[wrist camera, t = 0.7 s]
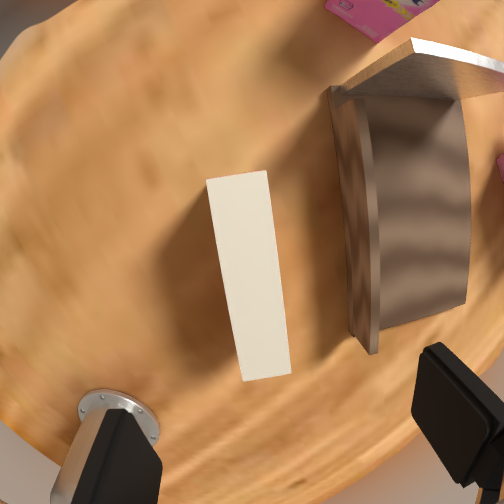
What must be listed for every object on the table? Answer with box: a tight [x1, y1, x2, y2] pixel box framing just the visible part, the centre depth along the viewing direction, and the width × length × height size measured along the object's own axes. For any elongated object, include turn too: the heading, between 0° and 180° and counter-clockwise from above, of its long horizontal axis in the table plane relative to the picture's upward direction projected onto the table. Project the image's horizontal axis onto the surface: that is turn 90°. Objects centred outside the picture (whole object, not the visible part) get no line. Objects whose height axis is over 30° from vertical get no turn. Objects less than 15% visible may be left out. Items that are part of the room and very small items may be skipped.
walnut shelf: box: [326, 86, 471, 355], centre depth 30 cm, size 28×18×6 cm, turn 8°
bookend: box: [340, 38, 504, 101], centre depth 21 cm, size 1×16×14 cm, turn 99°
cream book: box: [206, 170, 291, 381], centre depth 27 cm, size 16×4×11 cm, turn 8°
